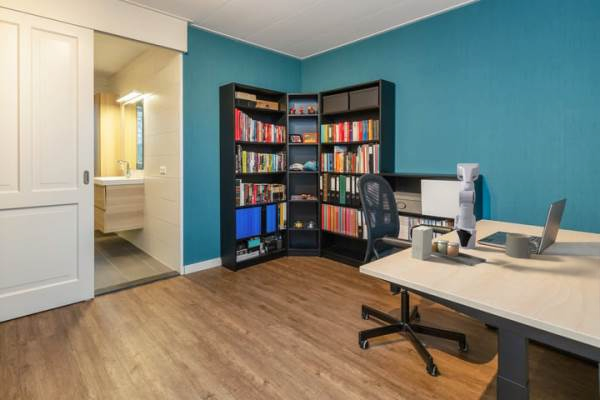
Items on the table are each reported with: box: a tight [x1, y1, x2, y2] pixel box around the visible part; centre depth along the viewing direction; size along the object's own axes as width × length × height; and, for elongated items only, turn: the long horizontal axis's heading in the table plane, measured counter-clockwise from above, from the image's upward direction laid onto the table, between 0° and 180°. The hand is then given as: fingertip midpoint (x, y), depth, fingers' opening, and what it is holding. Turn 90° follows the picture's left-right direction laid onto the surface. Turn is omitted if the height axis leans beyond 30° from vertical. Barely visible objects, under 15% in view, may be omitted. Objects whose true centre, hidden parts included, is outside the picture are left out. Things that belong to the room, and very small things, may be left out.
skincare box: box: [410, 225, 433, 261], centre depth 154 cm, size 8×6×15 cm
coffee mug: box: [504, 232, 540, 260], centre depth 157 cm, size 13×10×10 cm
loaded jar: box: [437, 239, 450, 254], centre depth 162 cm, size 5×5×6 cm
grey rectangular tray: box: [431, 251, 487, 267], centre depth 156 cm, size 12×26×4 cm, turn 29°
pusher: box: [432, 241, 438, 252], centre depth 164 cm, size 8×1×5 cm, turn 119°
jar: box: [447, 241, 460, 257], centre depth 158 cm, size 5×5×6 cm
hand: (463, 246), depth 151 cm, fingers closed
